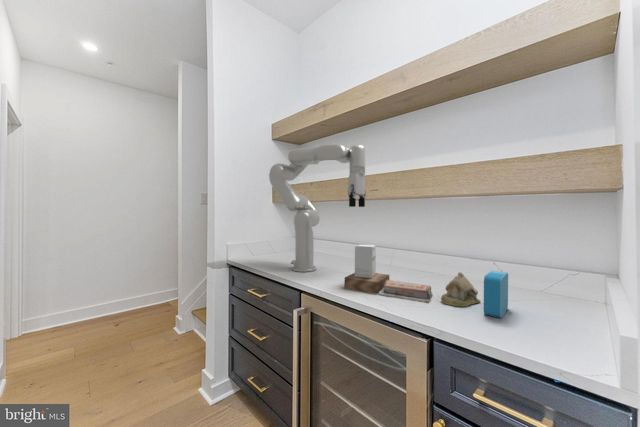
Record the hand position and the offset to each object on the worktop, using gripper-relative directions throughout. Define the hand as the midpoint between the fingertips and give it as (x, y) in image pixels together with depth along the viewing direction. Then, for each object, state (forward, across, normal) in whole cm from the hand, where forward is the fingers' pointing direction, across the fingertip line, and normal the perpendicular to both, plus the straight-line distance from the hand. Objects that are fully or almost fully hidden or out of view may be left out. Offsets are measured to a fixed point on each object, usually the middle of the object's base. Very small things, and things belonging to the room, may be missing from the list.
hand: (357, 206), depth 133 cm
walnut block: (+34, +16, +13) cm, 40 cm away
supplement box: (+29, +16, +12) cm, 36 cm away
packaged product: (+34, +18, +29) cm, 48 cm away
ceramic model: (+34, +13, +47) cm, 59 cm away
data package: (+34, +18, +58) cm, 69 cm away
